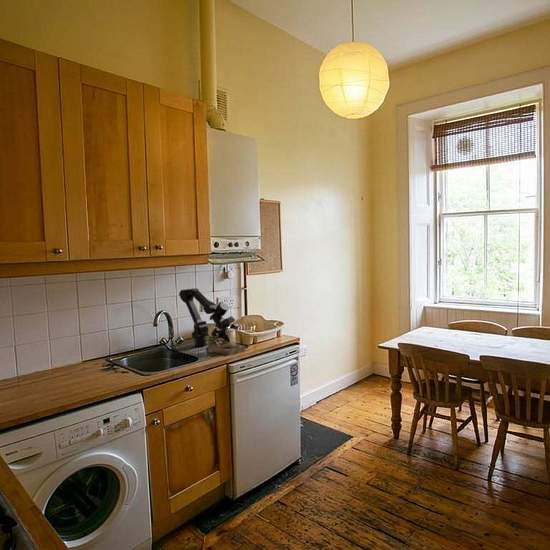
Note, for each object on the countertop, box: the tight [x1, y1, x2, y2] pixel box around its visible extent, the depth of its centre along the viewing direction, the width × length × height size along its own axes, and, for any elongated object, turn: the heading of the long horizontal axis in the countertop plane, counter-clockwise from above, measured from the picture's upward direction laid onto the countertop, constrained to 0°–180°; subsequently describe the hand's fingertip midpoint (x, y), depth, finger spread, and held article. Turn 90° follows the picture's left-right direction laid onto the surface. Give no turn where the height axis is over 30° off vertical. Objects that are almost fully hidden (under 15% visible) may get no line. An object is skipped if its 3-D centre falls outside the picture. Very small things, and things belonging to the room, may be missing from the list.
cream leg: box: [225, 329, 237, 348], centre depth 238 cm, size 5×5×13 cm
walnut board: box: [214, 343, 246, 356], centre depth 239 cm, size 13×13×3 cm
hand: (232, 341), depth 237 cm, fingers closed on cream leg, 5 cm apart
